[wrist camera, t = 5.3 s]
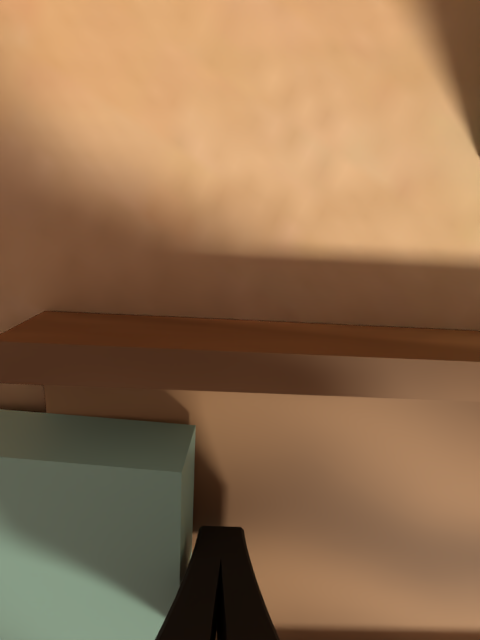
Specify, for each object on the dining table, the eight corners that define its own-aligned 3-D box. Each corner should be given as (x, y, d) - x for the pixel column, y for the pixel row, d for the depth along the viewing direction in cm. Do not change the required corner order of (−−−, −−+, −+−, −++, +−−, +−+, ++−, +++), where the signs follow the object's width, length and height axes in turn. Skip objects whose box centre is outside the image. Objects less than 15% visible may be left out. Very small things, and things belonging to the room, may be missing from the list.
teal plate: (189, 624, 13) (177, 697, 11) (-87, 597, 13) (-146, 662, 11) (195, 424, 10) (181, 472, 9) (-139, 397, 11) (-225, 437, 9)
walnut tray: (525, 661, 15) (582, 747, 12) (80, 655, 14) (49, 745, 12) (654, 338, 11) (774, 374, 8) (44, 310, 10) (-13, 340, 8)
